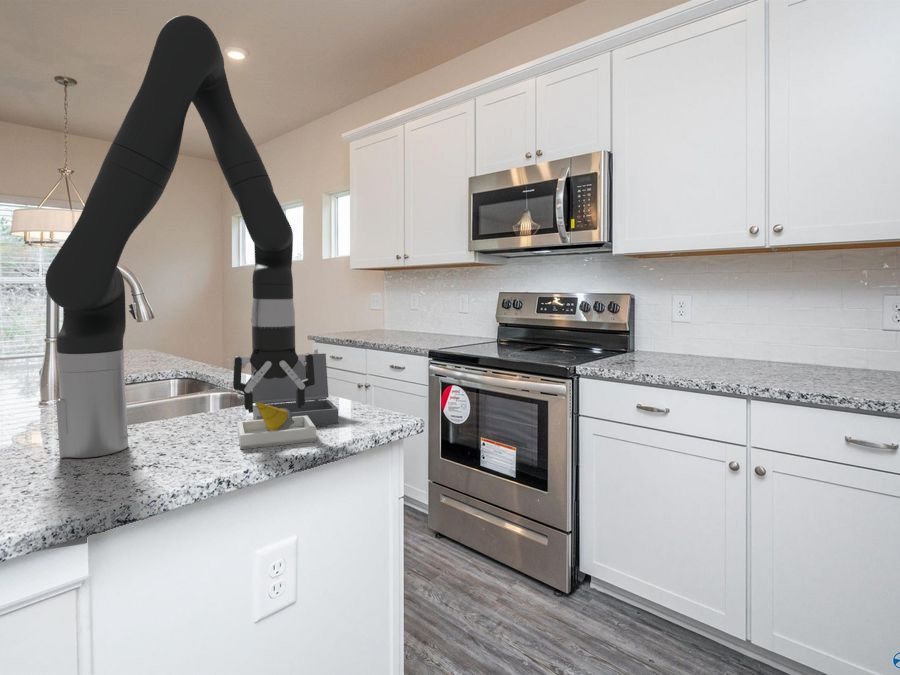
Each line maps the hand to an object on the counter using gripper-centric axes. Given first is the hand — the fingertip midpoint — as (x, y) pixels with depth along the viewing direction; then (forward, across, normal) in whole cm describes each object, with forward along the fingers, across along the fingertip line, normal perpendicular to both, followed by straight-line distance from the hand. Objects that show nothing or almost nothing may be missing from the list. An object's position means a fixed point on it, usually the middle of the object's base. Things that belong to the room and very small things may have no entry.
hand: (275, 410), depth 97 cm
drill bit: (+5, 0, 0) cm, 5 cm away
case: (+5, +5, +11) cm, 13 cm away
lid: (-3, +5, +17) cm, 18 cm away
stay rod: (+5, +11, +20) cm, 23 cm away
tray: (+5, 0, 0) cm, 5 cm away
